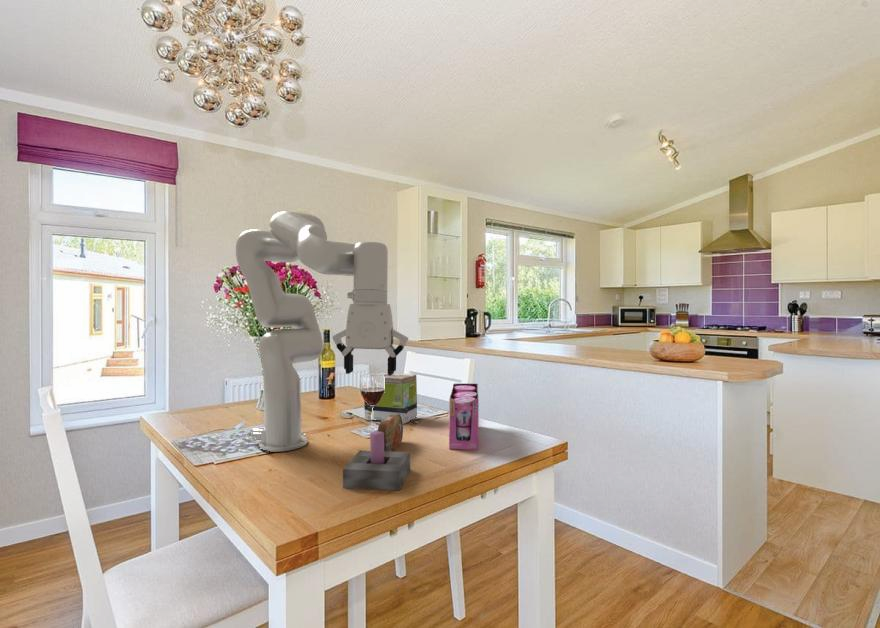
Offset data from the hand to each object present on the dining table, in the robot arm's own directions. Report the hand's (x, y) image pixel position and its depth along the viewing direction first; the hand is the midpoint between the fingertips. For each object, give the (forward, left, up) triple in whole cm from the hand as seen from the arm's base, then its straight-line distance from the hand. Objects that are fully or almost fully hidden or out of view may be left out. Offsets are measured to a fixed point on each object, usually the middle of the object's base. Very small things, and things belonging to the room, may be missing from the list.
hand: (370, 373), depth 103 cm
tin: (0, +17, -23) cm, 29 cm away
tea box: (-7, +47, -23) cm, 53 cm away
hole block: (+2, -3, -23) cm, 23 cm away
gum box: (+19, +30, -23) cm, 42 cm away
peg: (+2, -3, -23) cm, 23 cm away
